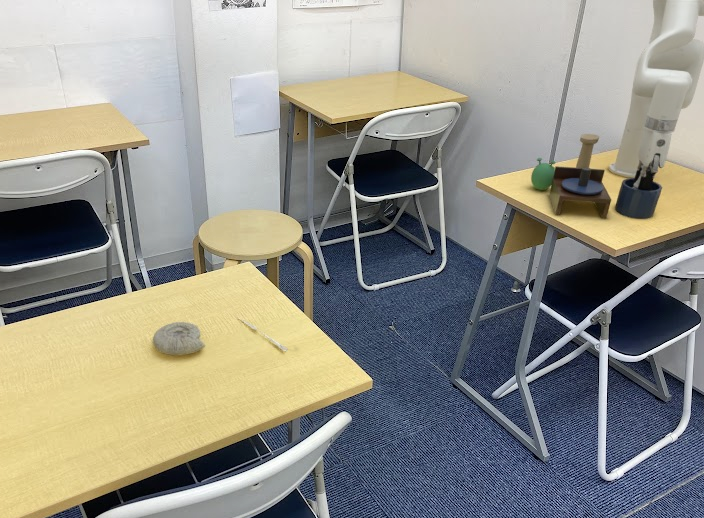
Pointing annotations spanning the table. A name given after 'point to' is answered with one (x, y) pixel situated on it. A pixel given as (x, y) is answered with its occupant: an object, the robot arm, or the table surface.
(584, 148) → the handle
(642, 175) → the rook chess piece
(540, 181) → the alien toy
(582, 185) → the lid
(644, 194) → the pot
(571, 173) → the shelf
